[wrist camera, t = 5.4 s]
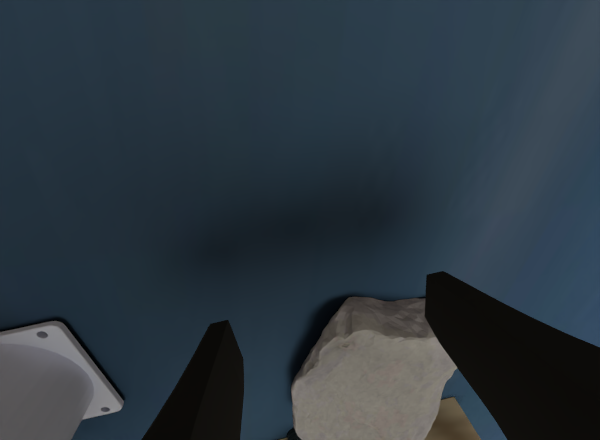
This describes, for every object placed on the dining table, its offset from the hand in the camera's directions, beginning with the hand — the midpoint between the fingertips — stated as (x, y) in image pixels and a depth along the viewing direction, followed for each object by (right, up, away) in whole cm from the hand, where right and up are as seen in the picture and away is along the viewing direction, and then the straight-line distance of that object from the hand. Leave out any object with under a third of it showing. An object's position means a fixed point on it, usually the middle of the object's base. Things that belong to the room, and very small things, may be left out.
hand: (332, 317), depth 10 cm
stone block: (+3, -6, +10) cm, 12 cm away
